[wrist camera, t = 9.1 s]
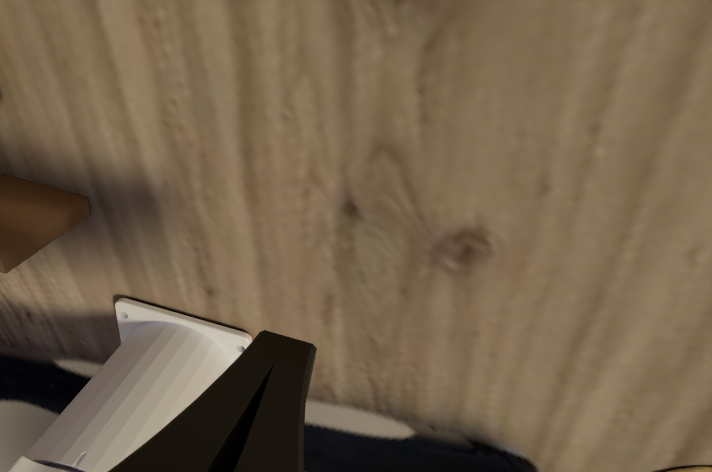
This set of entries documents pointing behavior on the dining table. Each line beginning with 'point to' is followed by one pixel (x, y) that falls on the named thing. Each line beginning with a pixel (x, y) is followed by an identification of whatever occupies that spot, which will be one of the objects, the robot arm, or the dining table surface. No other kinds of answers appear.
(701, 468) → the hand bell
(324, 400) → the dining table surface
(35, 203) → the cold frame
